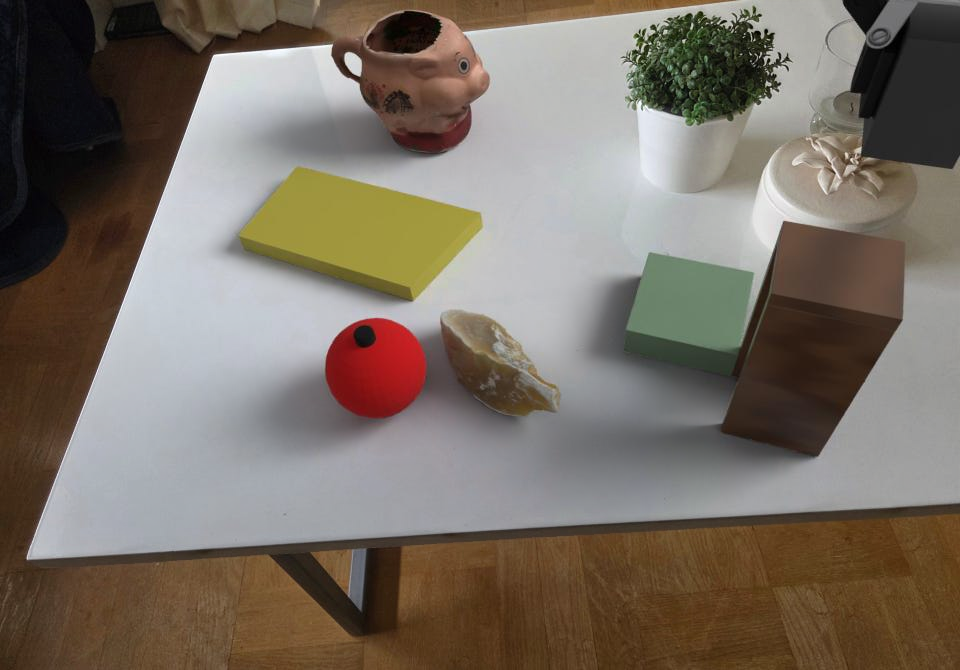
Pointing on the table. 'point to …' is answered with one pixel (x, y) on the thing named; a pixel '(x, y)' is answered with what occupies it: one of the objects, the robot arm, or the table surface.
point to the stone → (494, 365)
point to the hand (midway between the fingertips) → (920, 106)
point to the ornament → (375, 368)
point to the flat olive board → (360, 232)
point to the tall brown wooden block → (814, 334)
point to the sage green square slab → (689, 313)
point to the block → (921, 93)
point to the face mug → (417, 77)
